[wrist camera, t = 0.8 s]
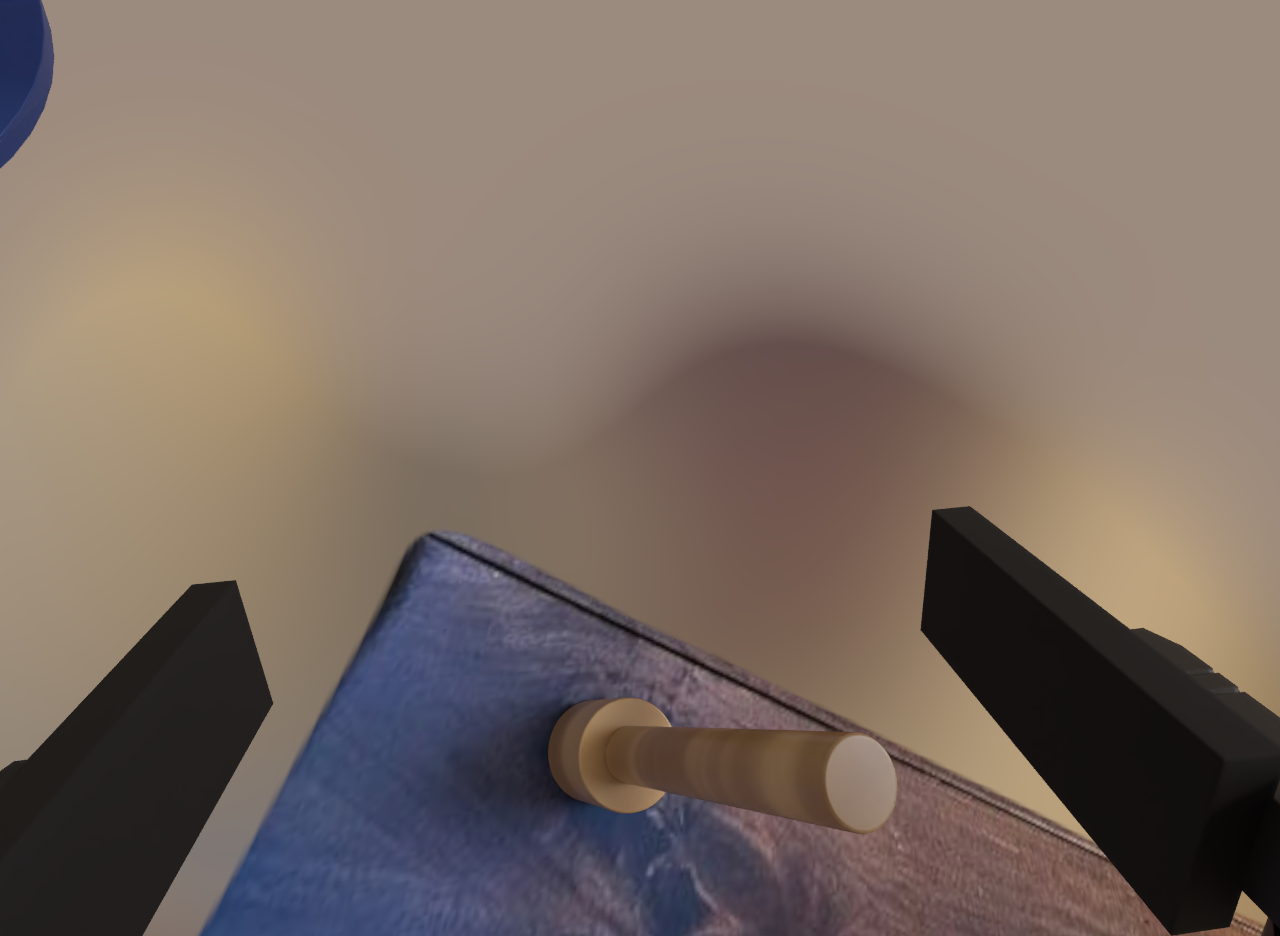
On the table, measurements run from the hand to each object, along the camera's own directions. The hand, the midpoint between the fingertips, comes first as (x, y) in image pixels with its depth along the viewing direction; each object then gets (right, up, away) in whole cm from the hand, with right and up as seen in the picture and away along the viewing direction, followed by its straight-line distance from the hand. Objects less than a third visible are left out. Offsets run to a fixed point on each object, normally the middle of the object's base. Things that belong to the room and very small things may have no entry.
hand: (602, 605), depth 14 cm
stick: (-1, -9, +16) cm, 19 cm away
